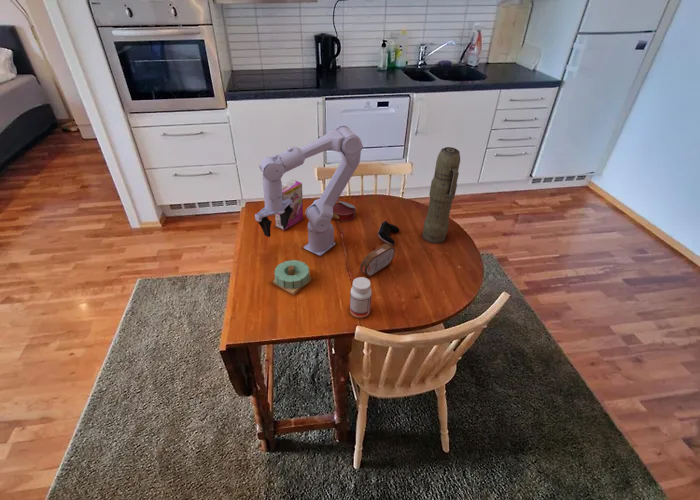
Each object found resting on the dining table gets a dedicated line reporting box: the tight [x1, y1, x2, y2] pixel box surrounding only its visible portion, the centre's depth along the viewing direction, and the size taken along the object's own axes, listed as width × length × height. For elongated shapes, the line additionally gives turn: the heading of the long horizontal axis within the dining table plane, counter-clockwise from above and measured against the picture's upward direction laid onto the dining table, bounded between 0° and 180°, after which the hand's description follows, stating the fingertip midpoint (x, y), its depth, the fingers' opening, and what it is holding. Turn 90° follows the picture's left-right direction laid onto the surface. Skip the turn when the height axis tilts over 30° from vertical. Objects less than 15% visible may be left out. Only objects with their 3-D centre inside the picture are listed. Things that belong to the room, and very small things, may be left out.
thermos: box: [422, 146, 461, 244], centre depth 141 cm, size 9×12×35 cm
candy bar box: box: [274, 179, 304, 231], centre depth 151 cm, size 11×5×16 cm, turn 144°
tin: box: [359, 243, 396, 277], centre depth 132 cm, size 15×3×8 cm, turn 134°
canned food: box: [332, 199, 356, 222], centre depth 161 cm, size 11×10×10 cm
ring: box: [274, 259, 311, 289], centre depth 127 cm, size 11×11×3 cm
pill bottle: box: [349, 276, 373, 319], centre depth 115 cm, size 6×6×11 cm
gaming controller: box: [377, 220, 400, 246], centre depth 149 cm, size 11×4×7 cm
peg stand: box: [271, 266, 313, 296], centre depth 126 cm, size 9×9×6 cm
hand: (275, 231), depth 133 cm, fingers open, 7 cm apart
